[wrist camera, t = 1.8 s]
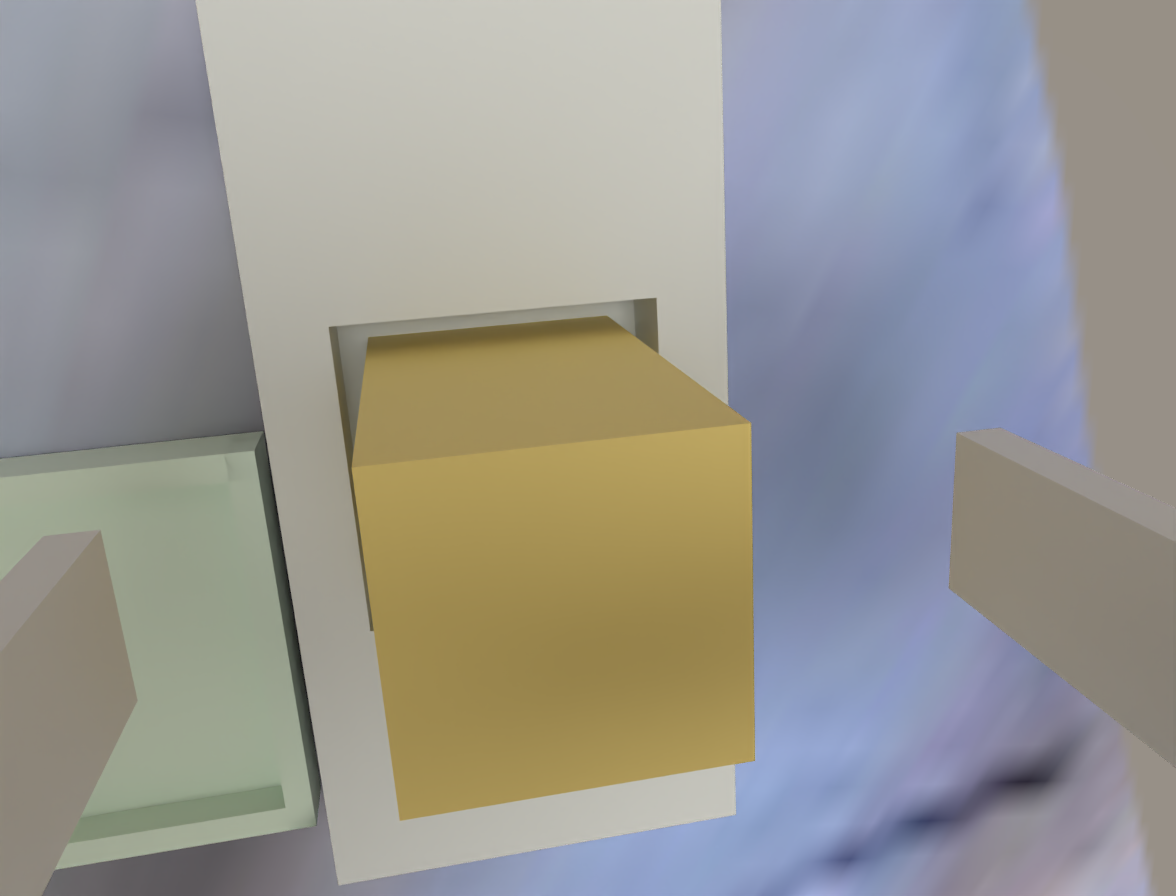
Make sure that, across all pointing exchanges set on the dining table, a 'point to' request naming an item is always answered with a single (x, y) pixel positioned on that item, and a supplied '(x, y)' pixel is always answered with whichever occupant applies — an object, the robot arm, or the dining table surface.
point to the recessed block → (455, 296)
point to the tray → (183, 639)
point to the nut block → (552, 562)
